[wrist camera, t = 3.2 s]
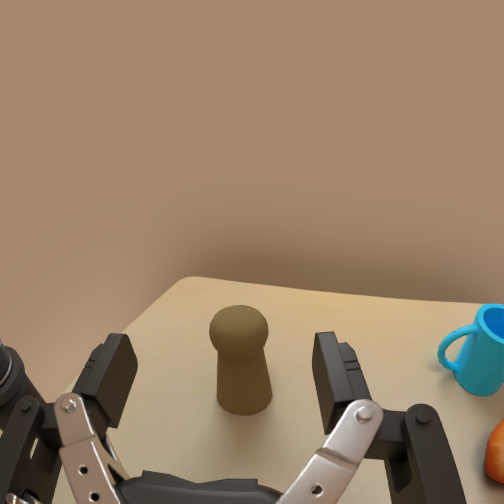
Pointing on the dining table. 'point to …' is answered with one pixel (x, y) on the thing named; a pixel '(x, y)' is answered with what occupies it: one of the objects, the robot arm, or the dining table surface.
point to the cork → (241, 359)
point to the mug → (479, 352)
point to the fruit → (495, 454)
